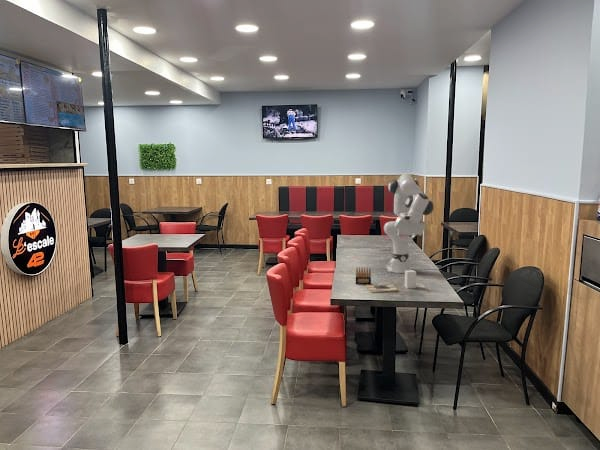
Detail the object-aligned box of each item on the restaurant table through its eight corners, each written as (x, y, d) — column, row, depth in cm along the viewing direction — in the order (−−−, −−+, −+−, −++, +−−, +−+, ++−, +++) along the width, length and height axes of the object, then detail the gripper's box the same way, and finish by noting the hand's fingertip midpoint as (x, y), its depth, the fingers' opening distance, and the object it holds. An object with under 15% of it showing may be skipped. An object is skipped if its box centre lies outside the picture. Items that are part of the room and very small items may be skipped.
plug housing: (404, 286, 302) (404, 270, 301) (413, 285, 303) (413, 270, 301) (407, 288, 297) (407, 272, 296) (415, 287, 298) (416, 271, 296)
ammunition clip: (355, 284, 310) (355, 267, 308) (355, 283, 312) (355, 266, 310) (371, 284, 308) (371, 267, 307) (371, 283, 310) (371, 267, 308)
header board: (365, 286, 304) (365, 284, 304) (391, 285, 306) (391, 283, 306) (371, 292, 288) (371, 291, 288) (398, 291, 290) (398, 290, 290)
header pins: (378, 287, 297) (378, 283, 297) (384, 287, 298) (384, 283, 297) (379, 287, 296) (379, 283, 296) (384, 287, 297) (384, 283, 296)
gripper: (424, 220, 291) (416, 239, 295) (397, 212, 285) (389, 231, 289) (429, 224, 286) (420, 243, 289) (402, 215, 280) (393, 235, 283)
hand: (404, 237), depth 289 cm, fingers open, 8 cm apart
